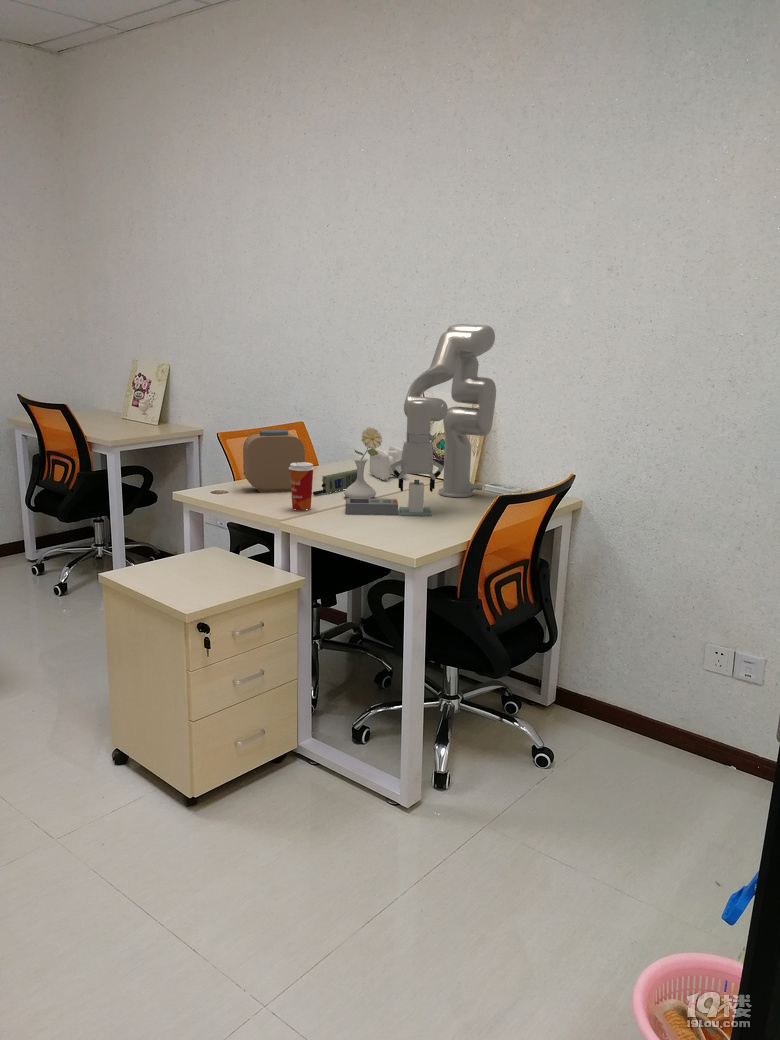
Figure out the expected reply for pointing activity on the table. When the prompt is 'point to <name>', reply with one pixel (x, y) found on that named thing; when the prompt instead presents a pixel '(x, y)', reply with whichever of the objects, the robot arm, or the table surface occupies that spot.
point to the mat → (405, 512)
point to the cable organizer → (385, 462)
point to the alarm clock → (271, 459)
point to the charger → (416, 496)
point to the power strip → (371, 506)
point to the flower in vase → (360, 486)
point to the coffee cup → (301, 485)
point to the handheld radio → (337, 481)
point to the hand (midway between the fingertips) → (416, 490)
